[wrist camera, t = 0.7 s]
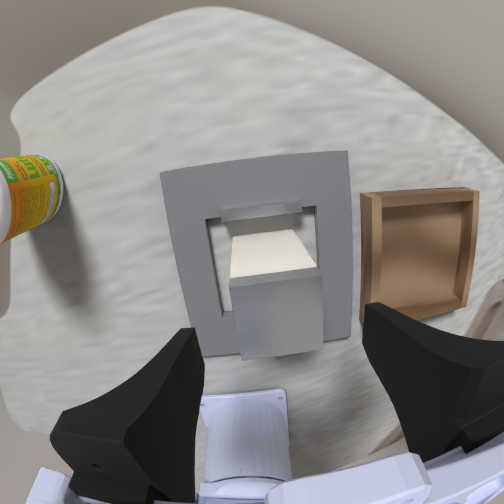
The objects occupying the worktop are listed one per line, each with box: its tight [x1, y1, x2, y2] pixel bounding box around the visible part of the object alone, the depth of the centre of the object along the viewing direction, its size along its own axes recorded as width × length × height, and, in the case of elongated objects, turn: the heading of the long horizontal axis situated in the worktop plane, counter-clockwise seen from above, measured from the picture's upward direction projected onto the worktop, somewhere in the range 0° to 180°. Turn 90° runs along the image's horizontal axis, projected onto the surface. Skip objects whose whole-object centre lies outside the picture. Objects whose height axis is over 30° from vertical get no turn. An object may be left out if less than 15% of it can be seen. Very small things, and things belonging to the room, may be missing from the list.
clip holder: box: [160, 151, 353, 357], centre depth 20 cm, size 14×12×2 cm
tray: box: [359, 187, 479, 325], centre depth 20 cm, size 10×10×2 cm
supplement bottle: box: [0, 155, 63, 244], centre depth 14 cm, size 5×5×10 cm
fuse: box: [229, 229, 323, 360], centre depth 17 cm, size 4×4×8 cm
